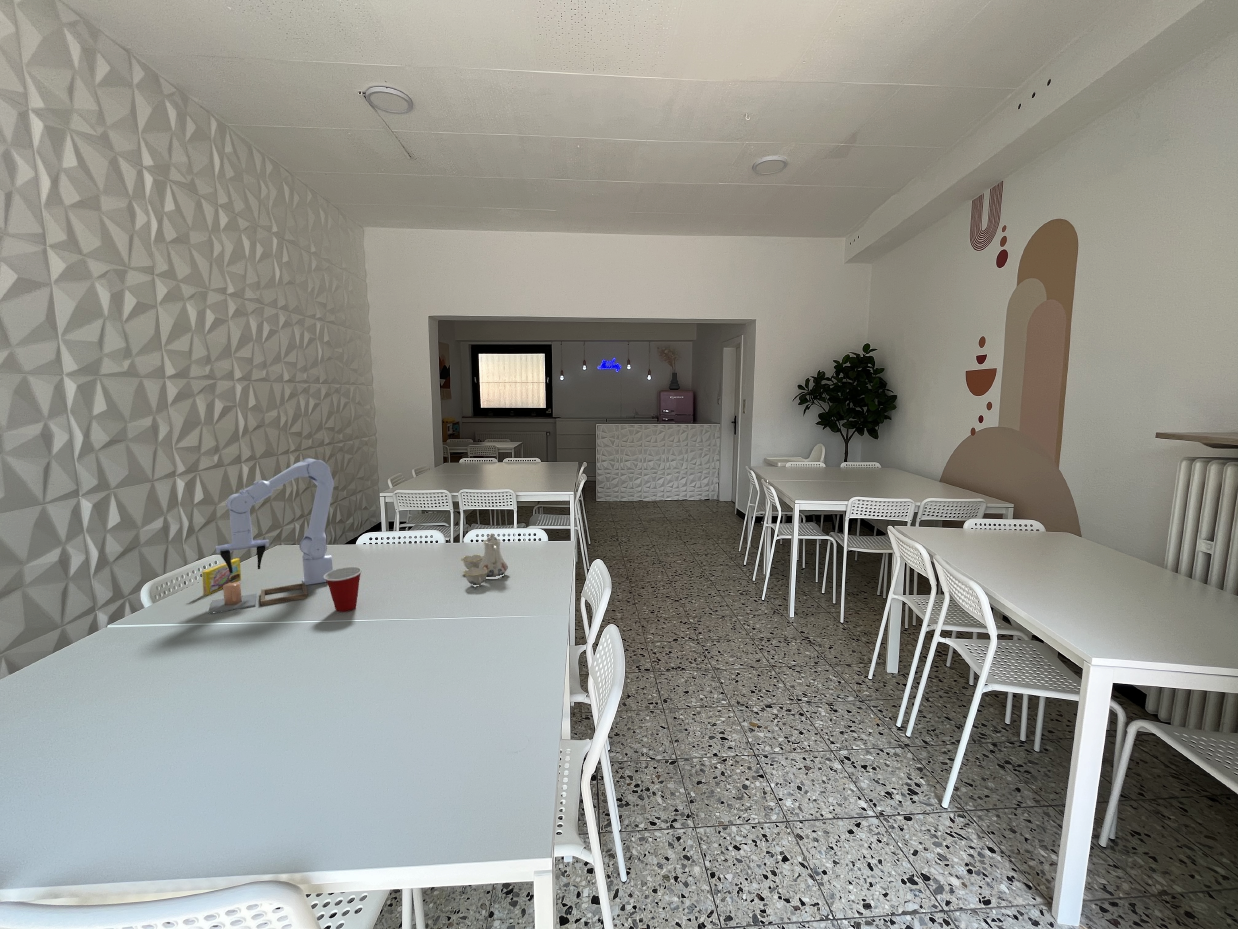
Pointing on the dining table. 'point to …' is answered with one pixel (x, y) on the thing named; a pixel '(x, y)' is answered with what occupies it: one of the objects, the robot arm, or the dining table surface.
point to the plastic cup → (344, 587)
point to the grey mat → (220, 605)
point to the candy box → (220, 576)
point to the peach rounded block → (232, 593)
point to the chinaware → (485, 563)
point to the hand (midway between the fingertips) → (245, 570)
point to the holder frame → (285, 598)
